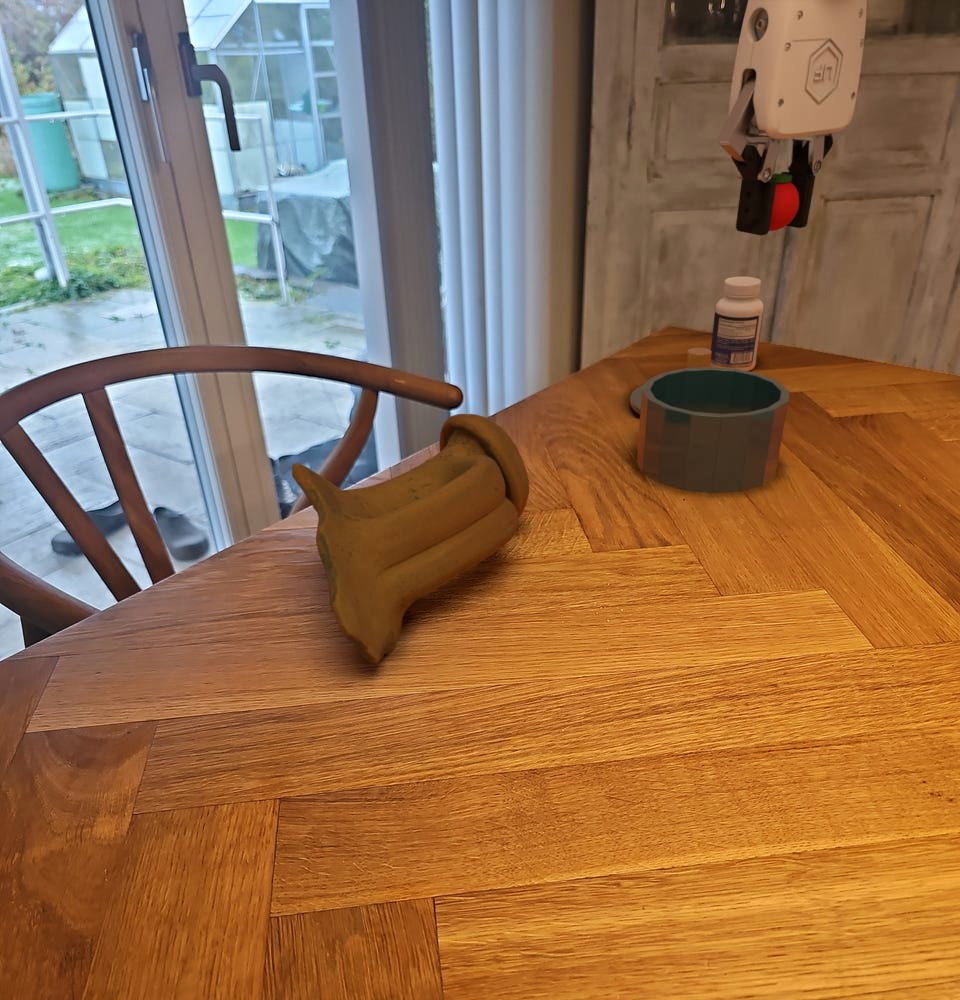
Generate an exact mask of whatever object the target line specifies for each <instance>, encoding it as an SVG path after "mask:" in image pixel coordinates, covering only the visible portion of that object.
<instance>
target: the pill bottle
mask: <svg viewBox="0 0 960 1000" xmlns="http://www.w3.org/2000/svg"><path fill="white" fill-rule="evenodd" d="M761 285H762V281H761V279H760V278H757V277H754V276H753V277H751V276H732V277H731V276H730V277H728V278H726V279H724V284H723V291H722V293H723V295H724V297H722V298H721V299H720V300H719V299H718V301H717V303H715V309H714V316H713V324H712V333H711V342H710V350H711V351H712V354H711V362H710V367H715V368H729V369H739V370H744V371H748V372H751V371H752V370H753V369H754V368H755V367H756V364H757V359H758V358H757V357H758V352H759V345H760V338H761V330H762V323H763V316H764V309H765V307H764V302H762V301H761V300H760V299H759V298H758V296H759V295H760V293H761Z"/></svg>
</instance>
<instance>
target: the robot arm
mask: <svg viewBox="0 0 960 1000" xmlns="http://www.w3.org/2000/svg"><path fill="white" fill-rule="evenodd" d="M867 7H868V0H747V4H746V7H745V12H744V17H743V21H742V25H741V30H740V34H739V40H738V44H737V49H736V55H735V61H734V67H733V71H732V72H733V73H732V80H731V87H730V93H729V94H730V95H729V105H728V117H727V119H726V122H725V123H724V125H723V127H722V130H721V131H720V133H719V135H718V139H717V141H718V142H717V143H718V144H719V146H720V147H721V148H722V149H723V150H724V151H725V152H726V153H727V154H728V155H729V156H730V157H731V160H732V162H733V163H734V165H735V167H736V177H737V178H738V179H739V180H741V182H740V183H741V184H740V191H739V199H738V206H737V212H736V213H737V215H736V220H735V221H736V222H735V229H736V231H737V232H741V233H746V234H750V235H755V236H766V235H768V234H769V232H770V231H769V229H770V223H771V216H772V209H773V203H774V196H775V189H776V182H775V181H769V180H770V179H771V177H772V174H774V170H775V166H776V162H777V158H778V153H779V150H780V146H781V142H782V140H787V157H786V158H787V159H786V169H787V171H781V172H780V174H789V175H792V181H791V183H792V184H793V185H794V186H795V187H796V189H797V191H798V194H799V208H798V211H797V213H796V215H795V217H794V218H793V220H792V221H791V222H790V223H789V224H788V225H787V226H786V227H791V228H796V229H803V228H806V227H807V226H808V221H809V216H810V211H811V203H812V200H813V199H812V198H813V193H814V187H815V182H816V175H817V176H818V175H819V174H820V173H821V172H822V169H823V166H824V159H825V158H826V156H827V155H828V153H829V152H830V150H831V149H832V147H833V145H834V144H835V143H836V142H837V141H838V140H839V139H840V138H841V137H842V136H843V135H844V134H845V133H846V131H848V128H849V125H850V123H851V122H852V119H853V116H854V112H855V107H856V102H857V98H858V97H857V95H858V89H859V83H860V77H861V69H862V62H863V55H864V47H865V46H864V45H865V37H866V25H867ZM764 134H766V135H764ZM804 142H805V143H804ZM803 144H804V145H803ZM759 145H761V146H763V148H762V149H763V150H762V153H761V154H760V152H759V150H758V147H759Z"/></svg>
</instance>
